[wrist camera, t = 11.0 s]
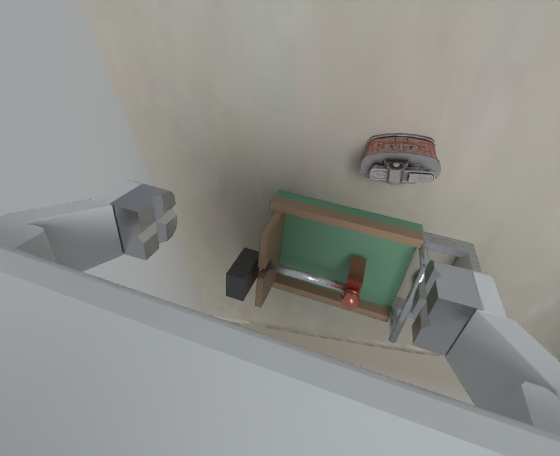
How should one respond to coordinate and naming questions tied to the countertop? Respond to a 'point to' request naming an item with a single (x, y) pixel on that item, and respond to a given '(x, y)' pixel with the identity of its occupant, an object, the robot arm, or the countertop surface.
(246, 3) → the countertop surface
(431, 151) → the lighter
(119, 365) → the robot arm
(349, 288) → the rod
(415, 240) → the pitch
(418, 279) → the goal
